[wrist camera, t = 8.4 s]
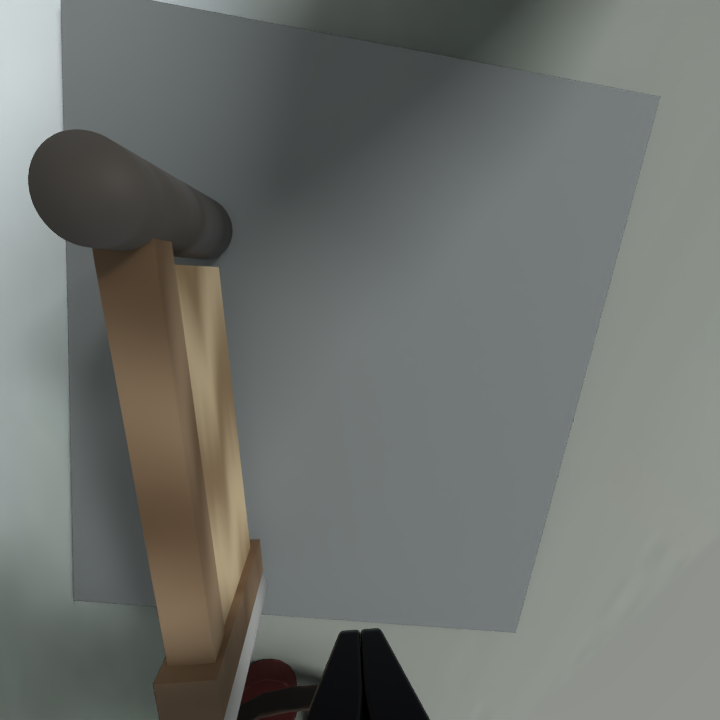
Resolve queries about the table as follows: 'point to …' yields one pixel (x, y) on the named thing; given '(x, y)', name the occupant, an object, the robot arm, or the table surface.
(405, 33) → the table surface
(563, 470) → the table surface
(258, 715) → the binoculars
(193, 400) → the wooden bar with ends
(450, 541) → the gate base
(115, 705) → the table surface
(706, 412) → the table surface
